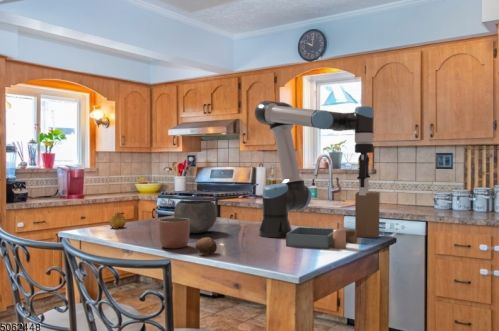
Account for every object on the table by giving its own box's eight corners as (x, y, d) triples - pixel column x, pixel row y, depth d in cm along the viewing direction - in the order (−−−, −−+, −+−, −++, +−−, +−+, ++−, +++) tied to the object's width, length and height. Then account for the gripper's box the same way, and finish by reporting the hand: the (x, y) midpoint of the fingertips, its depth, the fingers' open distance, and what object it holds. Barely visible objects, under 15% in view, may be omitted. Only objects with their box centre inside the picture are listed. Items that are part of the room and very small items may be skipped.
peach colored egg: (331, 248, 174) (331, 230, 174) (334, 246, 179) (334, 228, 179) (344, 249, 173) (344, 231, 173) (346, 246, 177) (346, 229, 177)
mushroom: (195, 242, 170) (200, 230, 167) (215, 250, 171) (220, 238, 168) (190, 256, 163) (196, 244, 160) (211, 264, 164) (216, 252, 161)
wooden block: (379, 235, 205) (379, 191, 205) (378, 238, 196) (378, 193, 195) (357, 233, 208) (357, 191, 208) (355, 237, 199) (355, 192, 199)
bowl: (165, 234, 208) (165, 202, 208) (188, 228, 227) (187, 199, 227) (204, 237, 200) (204, 204, 200) (224, 230, 219) (223, 200, 219)
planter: (175, 251, 170) (175, 222, 170) (152, 248, 177) (151, 220, 177) (196, 245, 181) (196, 219, 180) (173, 243, 187) (173, 217, 187)
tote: (286, 246, 179) (285, 233, 179) (298, 238, 197) (298, 227, 197) (328, 249, 173) (328, 236, 173) (337, 240, 191) (337, 229, 191)
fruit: (122, 224, 225) (123, 210, 229) (106, 226, 225) (107, 211, 229) (126, 230, 232) (128, 216, 236) (111, 232, 232) (112, 218, 236)
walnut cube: (343, 242, 187) (343, 230, 187) (345, 240, 191) (345, 229, 191) (355, 243, 185) (355, 231, 185) (357, 241, 190) (357, 229, 189)
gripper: (371, 142, 174) (371, 196, 174) (375, 144, 197) (374, 192, 198) (351, 142, 176) (351, 196, 176) (357, 144, 200) (357, 191, 200)
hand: (363, 194), depth 187 cm, fingers open, 13 cm apart
